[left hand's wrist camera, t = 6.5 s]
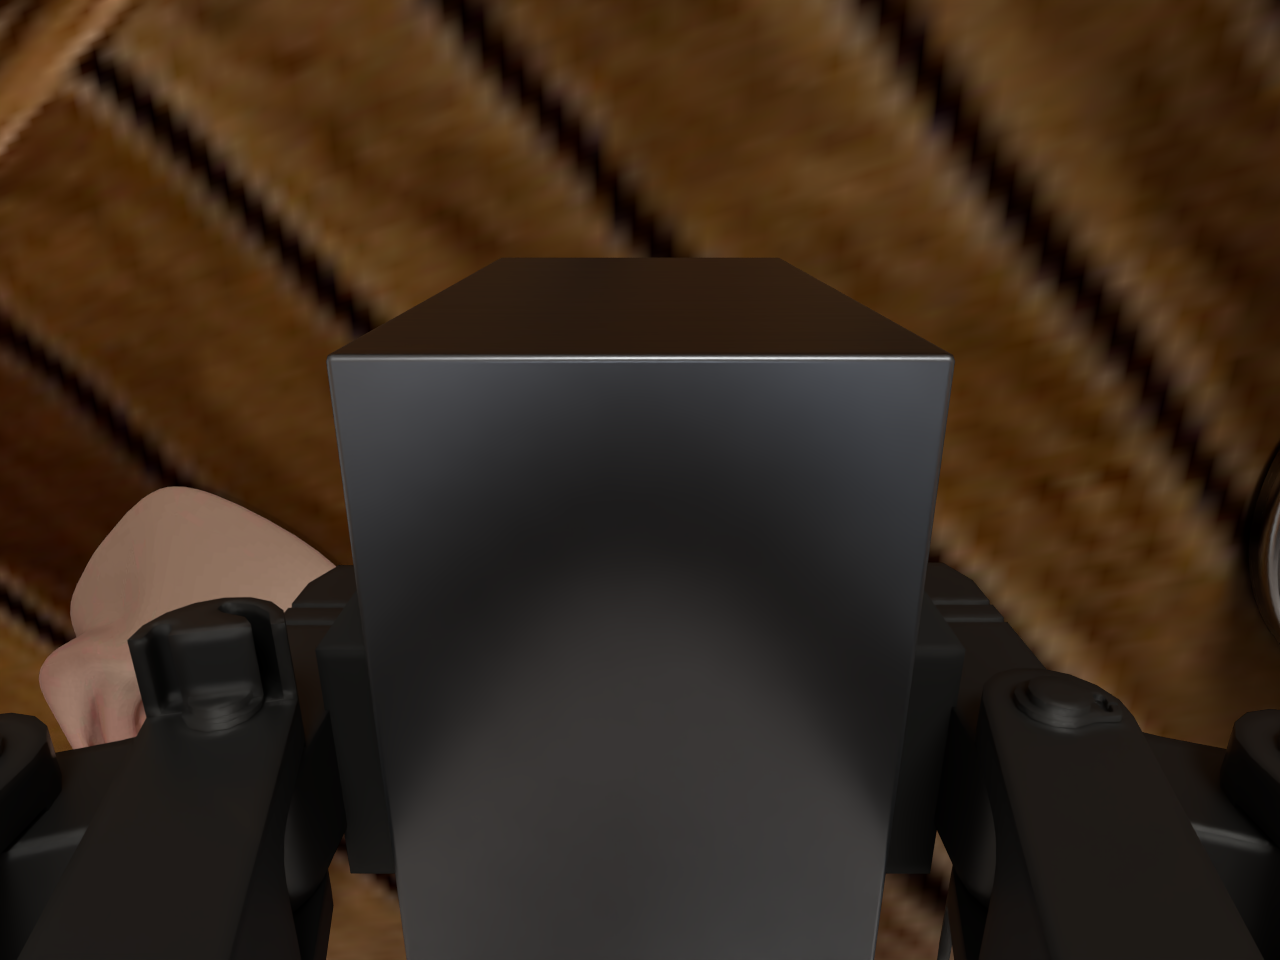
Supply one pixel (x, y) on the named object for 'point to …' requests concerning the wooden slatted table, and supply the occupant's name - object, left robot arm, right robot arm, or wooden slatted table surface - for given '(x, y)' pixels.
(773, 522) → the bar
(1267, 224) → the wooden slatted table surface
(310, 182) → the wooden slatted table surface
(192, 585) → the anatomical model
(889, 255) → the wooden slatted table surface
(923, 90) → the wooden slatted table surface
